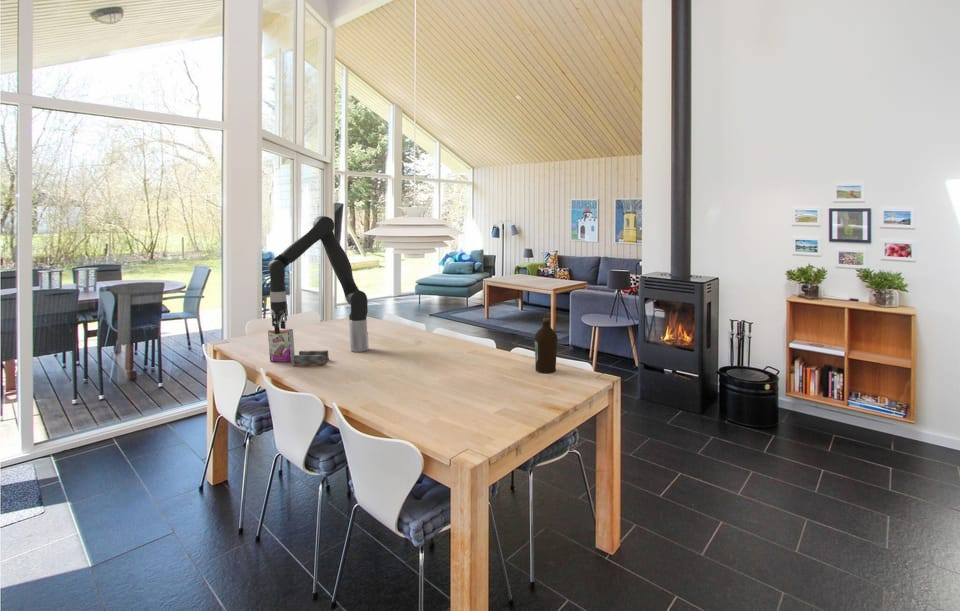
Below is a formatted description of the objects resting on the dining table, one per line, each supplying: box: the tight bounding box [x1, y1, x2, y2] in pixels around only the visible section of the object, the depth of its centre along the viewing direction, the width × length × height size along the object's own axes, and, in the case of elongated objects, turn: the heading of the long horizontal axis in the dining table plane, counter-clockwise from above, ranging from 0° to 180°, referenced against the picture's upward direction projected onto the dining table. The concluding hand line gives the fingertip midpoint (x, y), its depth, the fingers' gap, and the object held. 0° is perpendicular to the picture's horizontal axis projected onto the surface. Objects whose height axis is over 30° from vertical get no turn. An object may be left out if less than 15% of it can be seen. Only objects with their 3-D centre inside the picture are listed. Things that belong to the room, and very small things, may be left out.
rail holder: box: [293, 349, 330, 368], centre depth 249 cm, size 14×12×5 cm
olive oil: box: [534, 317, 559, 374], centre depth 233 cm, size 11×11×25 cm
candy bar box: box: [267, 327, 296, 363], centre depth 253 cm, size 11×5×16 cm, turn 84°
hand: (280, 332), depth 251 cm, fingers open, 8 cm apart
